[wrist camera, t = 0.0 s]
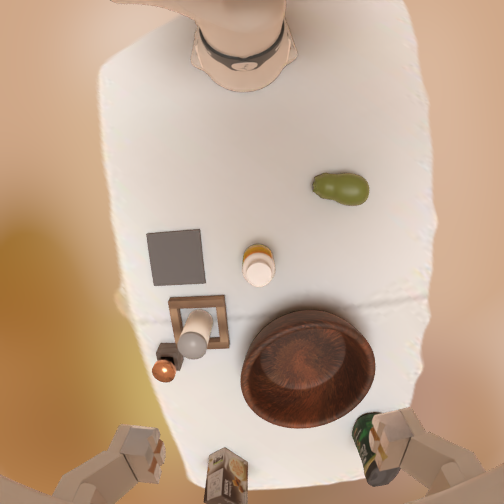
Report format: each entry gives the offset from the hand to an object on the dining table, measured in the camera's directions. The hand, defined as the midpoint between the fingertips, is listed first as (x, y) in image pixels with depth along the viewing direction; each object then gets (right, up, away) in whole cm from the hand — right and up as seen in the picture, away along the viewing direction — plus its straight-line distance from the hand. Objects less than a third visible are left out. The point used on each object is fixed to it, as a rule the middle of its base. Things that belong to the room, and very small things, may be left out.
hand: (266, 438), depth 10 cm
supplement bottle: (+1, +6, +48) cm, 49 cm away
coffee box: (-7, -48, +62) cm, 79 cm away
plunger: (-17, -15, +50) cm, 55 cm away
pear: (+15, +18, +45) cm, 51 cm away
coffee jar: (+29, -37, +59) cm, 75 cm away
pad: (-15, +6, +48) cm, 51 cm away
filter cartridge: (-11, -7, +51) cm, 53 cm away
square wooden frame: (-12, -9, +52) cm, 54 cm away
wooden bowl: (+10, -14, +53) cm, 56 cm away
